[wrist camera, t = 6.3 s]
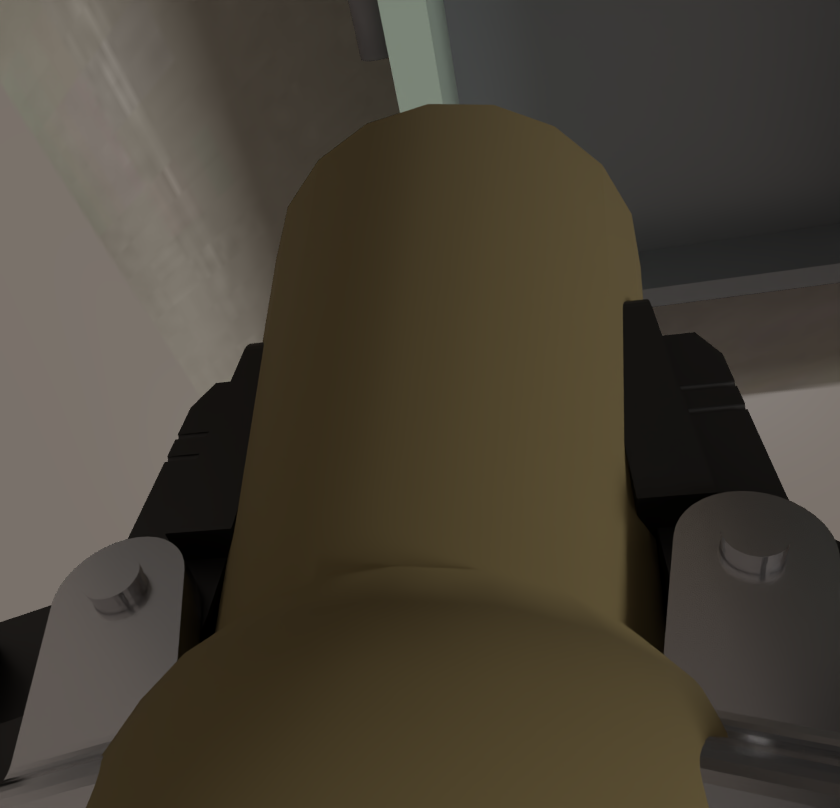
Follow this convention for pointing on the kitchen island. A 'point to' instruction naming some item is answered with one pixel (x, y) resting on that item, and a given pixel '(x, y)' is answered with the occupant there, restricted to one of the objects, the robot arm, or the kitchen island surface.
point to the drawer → (658, 117)
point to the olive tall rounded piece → (435, 507)
